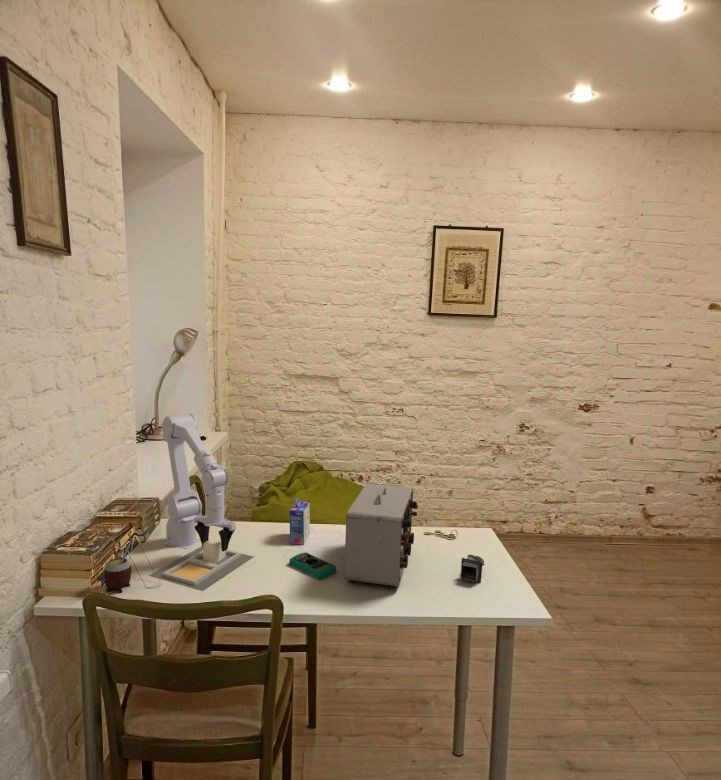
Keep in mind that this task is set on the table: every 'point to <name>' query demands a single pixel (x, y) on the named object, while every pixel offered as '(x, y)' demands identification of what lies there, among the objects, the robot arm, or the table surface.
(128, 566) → the mate gourd
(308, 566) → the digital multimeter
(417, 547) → the table surface
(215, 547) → the plug
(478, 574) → the ethernet keystone jack
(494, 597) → the table surface
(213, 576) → the grey flat tray
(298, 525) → the ink cartridge box
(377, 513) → the vintage electronic device
